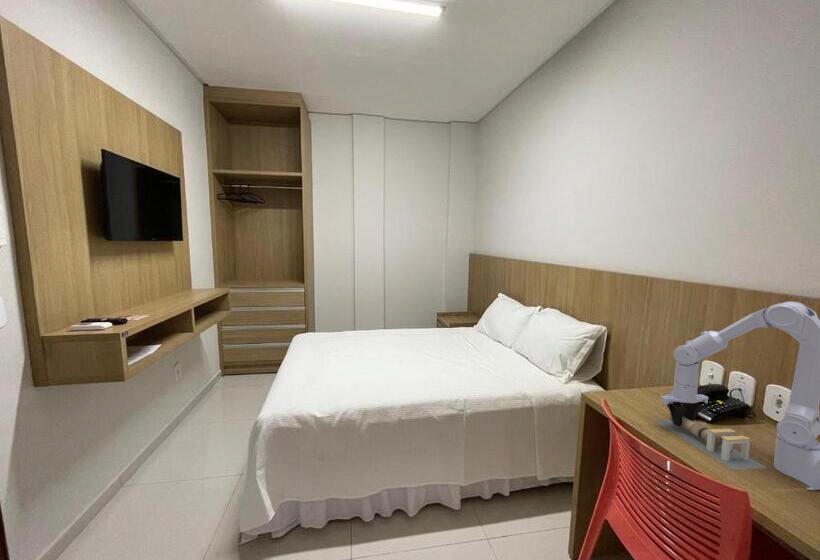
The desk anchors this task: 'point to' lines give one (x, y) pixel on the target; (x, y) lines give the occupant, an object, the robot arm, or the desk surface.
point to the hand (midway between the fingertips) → (682, 424)
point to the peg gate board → (722, 452)
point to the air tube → (698, 430)
